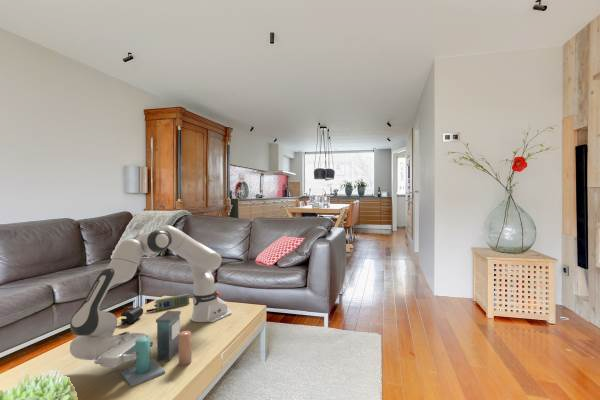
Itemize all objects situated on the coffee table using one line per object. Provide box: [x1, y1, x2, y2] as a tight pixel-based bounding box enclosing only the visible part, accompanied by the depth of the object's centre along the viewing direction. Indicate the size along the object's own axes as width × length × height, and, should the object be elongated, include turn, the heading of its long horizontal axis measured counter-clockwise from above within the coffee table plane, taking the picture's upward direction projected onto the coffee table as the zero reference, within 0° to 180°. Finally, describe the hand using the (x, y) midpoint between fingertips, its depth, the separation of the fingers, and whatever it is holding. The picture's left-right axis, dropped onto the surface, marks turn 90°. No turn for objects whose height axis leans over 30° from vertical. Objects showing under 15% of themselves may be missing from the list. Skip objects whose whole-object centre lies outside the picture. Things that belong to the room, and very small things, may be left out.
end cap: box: [120, 305, 144, 325], centre depth 172 cm, size 10×7×7 cm
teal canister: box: [135, 336, 151, 374], centre depth 120 cm, size 5×5×12 cm
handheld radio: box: [145, 293, 190, 313], centre depth 191 cm, size 7×3×25 cm
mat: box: [120, 359, 166, 387], centre depth 120 cm, size 12×12×1 cm
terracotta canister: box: [177, 330, 192, 366], centre depth 128 cm, size 5×5×12 cm
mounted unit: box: [155, 310, 182, 362], centre depth 134 cm, size 10×6×17 cm, turn 176°
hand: (144, 350), depth 120 cm, fingers open, 8 cm apart
